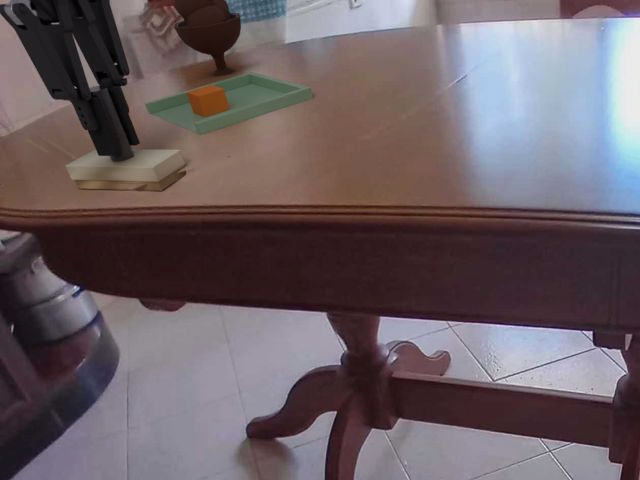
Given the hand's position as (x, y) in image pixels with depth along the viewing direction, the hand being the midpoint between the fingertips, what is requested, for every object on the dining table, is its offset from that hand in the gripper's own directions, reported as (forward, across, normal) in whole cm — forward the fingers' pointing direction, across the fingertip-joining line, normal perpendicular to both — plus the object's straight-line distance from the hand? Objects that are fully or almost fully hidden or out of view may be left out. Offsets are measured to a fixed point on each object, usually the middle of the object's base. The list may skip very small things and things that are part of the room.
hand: (119, 149), depth 83 cm
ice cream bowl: (+4, +44, +14) cm, 46 cm away
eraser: (+3, +23, +4) cm, 24 cm away
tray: (+4, +26, +2) cm, 26 cm away
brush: (+4, 0, 0) cm, 4 cm away
